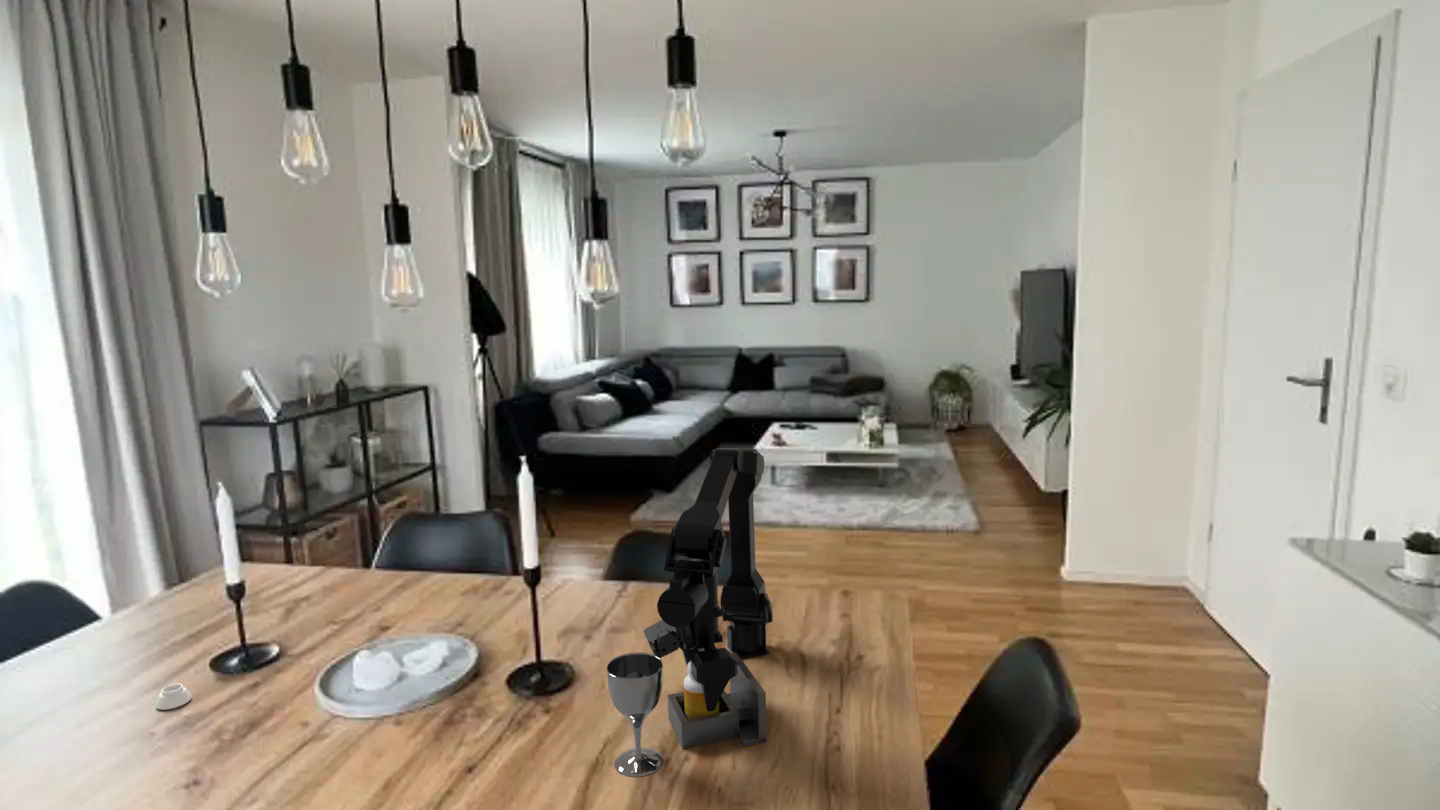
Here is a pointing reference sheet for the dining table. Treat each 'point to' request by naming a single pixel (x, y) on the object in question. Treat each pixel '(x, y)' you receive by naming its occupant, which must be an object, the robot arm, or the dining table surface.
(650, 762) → the wine glass
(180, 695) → the white upside-down bowl
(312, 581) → the dining table surface
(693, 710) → the supplement bottle
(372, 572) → the dining table surface
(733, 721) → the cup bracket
